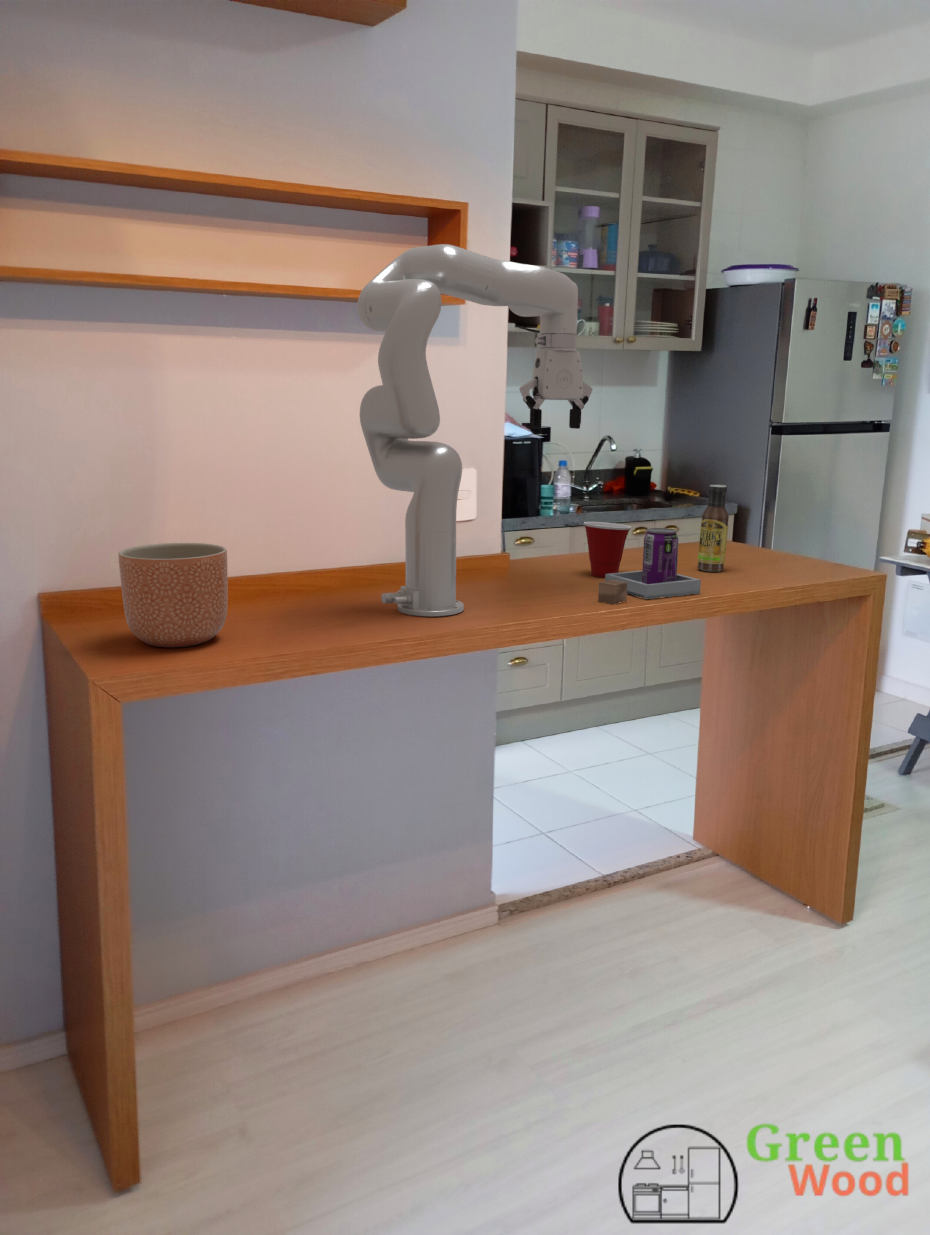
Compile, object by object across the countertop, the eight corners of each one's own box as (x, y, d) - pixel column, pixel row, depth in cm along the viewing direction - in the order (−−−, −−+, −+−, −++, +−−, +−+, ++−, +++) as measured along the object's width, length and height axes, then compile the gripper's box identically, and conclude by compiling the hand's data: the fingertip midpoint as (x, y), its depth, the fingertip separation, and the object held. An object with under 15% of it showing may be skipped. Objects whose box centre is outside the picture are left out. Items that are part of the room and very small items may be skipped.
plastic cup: (638, 578, 226) (641, 524, 223) (596, 581, 222) (598, 526, 219) (614, 569, 236) (616, 518, 233) (573, 572, 232) (575, 520, 229)
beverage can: (676, 590, 208) (679, 532, 205) (641, 588, 210) (643, 531, 207) (675, 584, 215) (678, 528, 212) (642, 582, 216) (644, 527, 214)
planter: (244, 645, 165) (240, 554, 161) (137, 659, 156) (131, 562, 153) (214, 624, 179) (209, 540, 175) (115, 635, 171) (108, 546, 167)
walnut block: (614, 605, 198) (615, 585, 197) (598, 602, 201) (598, 582, 200) (626, 602, 201) (627, 582, 200) (609, 599, 204) (610, 579, 203)
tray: (646, 600, 202) (647, 585, 202) (604, 587, 214) (605, 574, 214) (700, 593, 209) (700, 579, 208) (656, 582, 221) (657, 568, 220)
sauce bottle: (693, 571, 235) (698, 485, 231) (702, 567, 240) (708, 483, 236) (719, 574, 232) (725, 487, 227) (729, 570, 237) (734, 485, 232)
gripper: (531, 342, 200) (529, 429, 204) (603, 344, 208) (599, 428, 212) (512, 343, 206) (510, 428, 210) (582, 345, 214) (579, 427, 218)
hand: (555, 428), depth 211 cm, fingers open, 9 cm apart
